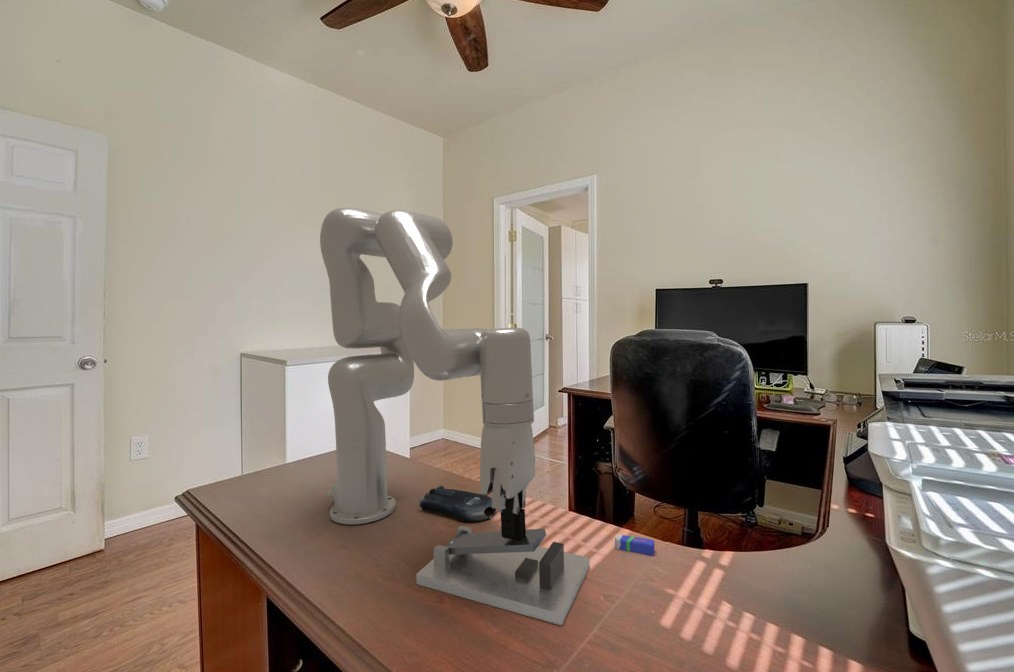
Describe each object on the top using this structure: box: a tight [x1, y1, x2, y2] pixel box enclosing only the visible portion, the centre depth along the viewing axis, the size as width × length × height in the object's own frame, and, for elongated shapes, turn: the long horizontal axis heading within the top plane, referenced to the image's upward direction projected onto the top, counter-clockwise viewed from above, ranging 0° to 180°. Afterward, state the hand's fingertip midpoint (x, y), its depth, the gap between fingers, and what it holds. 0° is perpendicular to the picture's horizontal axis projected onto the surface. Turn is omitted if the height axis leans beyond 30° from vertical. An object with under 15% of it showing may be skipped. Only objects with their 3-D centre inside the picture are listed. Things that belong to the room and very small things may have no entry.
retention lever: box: [443, 528, 547, 555], centre depth 66 cm, size 16×5×1 cm, turn 65°
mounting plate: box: [415, 525, 591, 626], centre depth 65 cm, size 22×14×5 cm, turn 65°
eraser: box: [614, 533, 655, 556], centre depth 72 cm, size 2×6×2 cm, turn 65°
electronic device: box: [418, 484, 497, 523], centre depth 88 cm, size 9×6×15 cm
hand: (513, 536), depth 64 cm, fingers closed
